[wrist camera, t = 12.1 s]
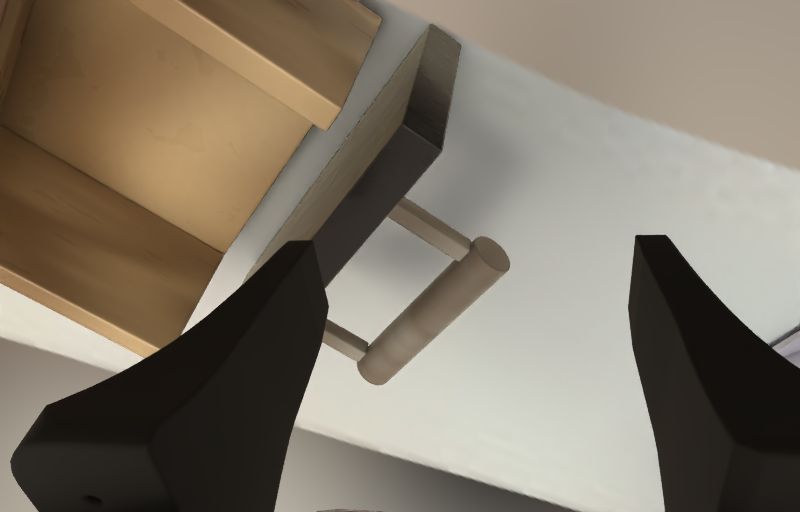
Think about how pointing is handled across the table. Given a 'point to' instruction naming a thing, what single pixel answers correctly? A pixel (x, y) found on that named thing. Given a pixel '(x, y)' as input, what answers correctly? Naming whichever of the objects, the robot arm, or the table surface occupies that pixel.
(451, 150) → the table surface
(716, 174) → the table surface
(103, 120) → the drawer
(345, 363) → the table surface
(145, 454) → the robot arm
